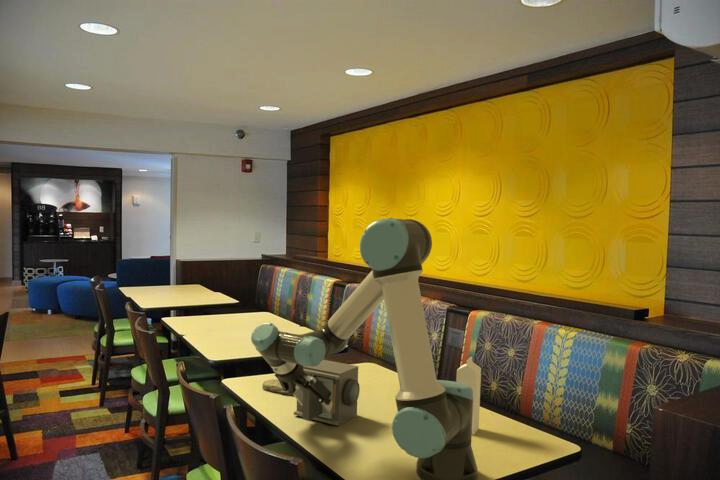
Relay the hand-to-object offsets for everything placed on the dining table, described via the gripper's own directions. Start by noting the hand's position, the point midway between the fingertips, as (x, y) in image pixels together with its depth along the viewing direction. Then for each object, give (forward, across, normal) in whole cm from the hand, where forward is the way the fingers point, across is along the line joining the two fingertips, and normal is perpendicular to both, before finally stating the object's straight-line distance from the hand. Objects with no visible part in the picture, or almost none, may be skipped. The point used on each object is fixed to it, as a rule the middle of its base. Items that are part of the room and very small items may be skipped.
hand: (317, 404), depth 170 cm
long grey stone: (+19, -20, +10) cm, 30 cm away
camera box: (+9, 0, +1) cm, 9 cm away
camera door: (+1, 0, -4) cm, 4 cm away
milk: (+20, +40, +11) cm, 46 cm away
